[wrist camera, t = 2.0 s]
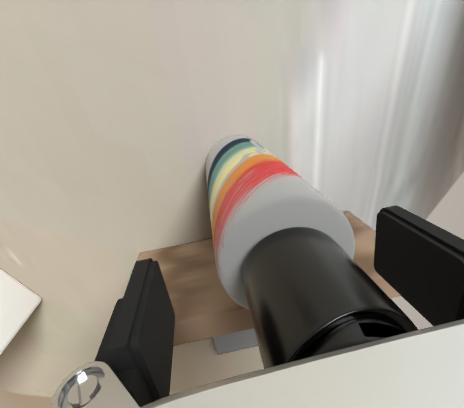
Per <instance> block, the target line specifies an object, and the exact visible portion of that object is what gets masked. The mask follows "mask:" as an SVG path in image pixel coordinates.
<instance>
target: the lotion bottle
mask: <svg viewBox="0 0 464 408" xmlns="http://www.w3.org/2000/svg"><path fill="white" fill-rule="evenodd" d="M206 181H207V190H208V200H209V209H210V219H211V228H212V237H213V246H214V255H215V262H216V268H217V273H218V277H219V279H220V282H221V284H222V286H223V288H224V290H225V291H226V293H227V294H228V295H229V296H230V297H231V299H233V300H234V301H235V302H236V303H237V304H239V305H240V306H242V307H244V308H246V309H248V310H250V314H251V318H252V322H253V326H254V330H255V334H256V338H257V342H258V346H259V350H260V354H261V358H262V362H263V366H264V369H266V368H270V367H274V366H278V365H282V364H286V363H290V362H293V361H297V360H301V359H305V358H309V357H313V356H317V355H321V354H325V353H329V352H333V351H337V350H341V349H344V348H348V347H352V346H356V345H360V344H364V343H368V342H372V341H376V340H380V339H384V338H388V337H392V336H396V335H400V334H404V333H408V332H413V331H417V330H418V329H417V327H416V326H415V325H414V324H413V322H412V321H411V320H410V319H409V318H408V317H407V316H406V315H405V313H404V312H403V311H402V310H401V309H400V308H399V307H398V306H397V305H396V304H395V303H394V302H393V301H392V300H391V299H390V298H389V297H388V296H387V294H386V293H385V292H384V291H383V290H382V289H381V288H380V287H379V286H378V285H377V284H376V283H375V282H374V281H373V280H372V279H371V278H370V277H369V276H368V275H367V274H366V272H365V271H364V270H363V269H362V268H361V267H360V266H359V265H358V264H357V263H356V262H355V261H354V260H353V257H354V251H355V239H354V233H353V230H352V227H351V225H350V223H349V221H348V219H347V218H346V217H345V215H344V214H343V212H342V211H341V210H340V209H339V208H338V207H337V206H336V205H335V204H334V203H332V202H331V201H330V200H329V199H328V198H326V197H325V196H324V195H323V194H322V193H320V192H319V191H318V190H317V189H315V188H314V187H313V186H312V185H310V184H309V183H308V182H307V181H305V180H304V179H303V178H302V177H300V176H299V175H298V174H297V173H295V172H294V171H293V170H292V169H290V168H289V167H288V166H287V165H285V164H284V163H283V162H281V161H280V160H279V159H278V158H276V157H275V156H274V155H273V154H271V153H270V152H269V151H268V150H266V149H265V148H264V147H263V146H261V145H260V144H259V143H257V142H256V141H254V140H253V139H251V138H248V137H245V136H230V137H227V138H224V139H222V140H221V141H219V142H218V143H217V144H215V145H214V147H213V148H212V149H211V151H210V152H209V154H208V157H207V160H206Z"/></svg>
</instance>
